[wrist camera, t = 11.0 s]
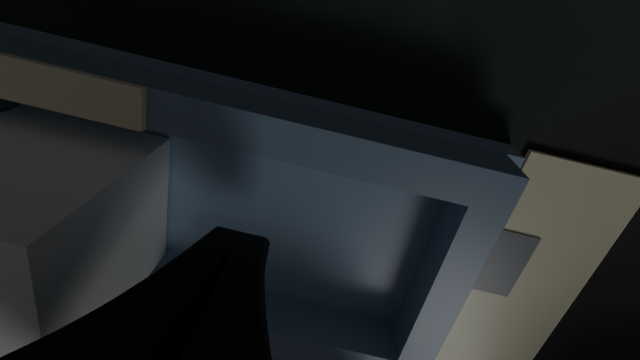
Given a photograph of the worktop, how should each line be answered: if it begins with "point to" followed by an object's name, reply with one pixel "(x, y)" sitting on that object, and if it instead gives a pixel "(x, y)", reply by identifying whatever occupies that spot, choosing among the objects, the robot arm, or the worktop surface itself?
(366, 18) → the worktop surface
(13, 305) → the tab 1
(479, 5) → the worktop surface
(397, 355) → the dark blue tray
